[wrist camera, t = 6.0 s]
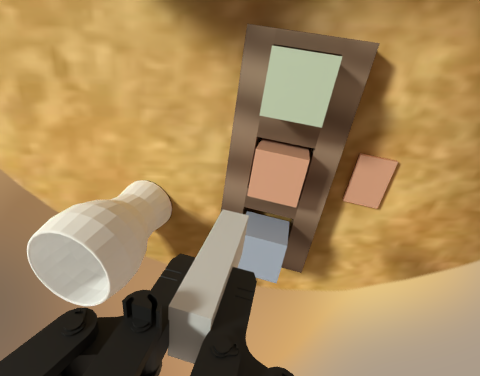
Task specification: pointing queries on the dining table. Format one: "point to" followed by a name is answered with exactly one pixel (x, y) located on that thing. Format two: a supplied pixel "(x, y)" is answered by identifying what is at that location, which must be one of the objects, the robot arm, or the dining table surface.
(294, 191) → the salmon cube
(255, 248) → the blue-grey cube
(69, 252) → the cup
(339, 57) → the sage green cube
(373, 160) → the swatch
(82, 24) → the dining table surface
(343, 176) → the dining table surface
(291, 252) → the walnut board
